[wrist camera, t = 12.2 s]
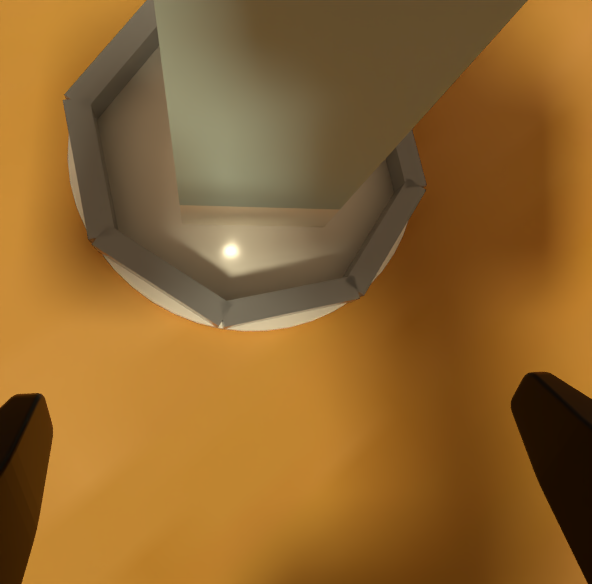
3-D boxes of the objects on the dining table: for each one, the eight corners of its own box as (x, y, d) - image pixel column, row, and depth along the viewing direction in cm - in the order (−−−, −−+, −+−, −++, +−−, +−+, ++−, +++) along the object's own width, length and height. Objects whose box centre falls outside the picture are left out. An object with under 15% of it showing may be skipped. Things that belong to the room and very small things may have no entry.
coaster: (443, 293, 18) (464, 287, 17) (106, 367, 15) (96, 367, 14) (367, 2, 20) (380, -27, 18) (44, 21, 17) (29, -11, 15)
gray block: (323, 227, 17) (584, -63, 6) (181, 224, 16) (135, -139, 5) (318, 98, 18) (537, -398, 6) (181, 88, 17) (141, -524, 5)
